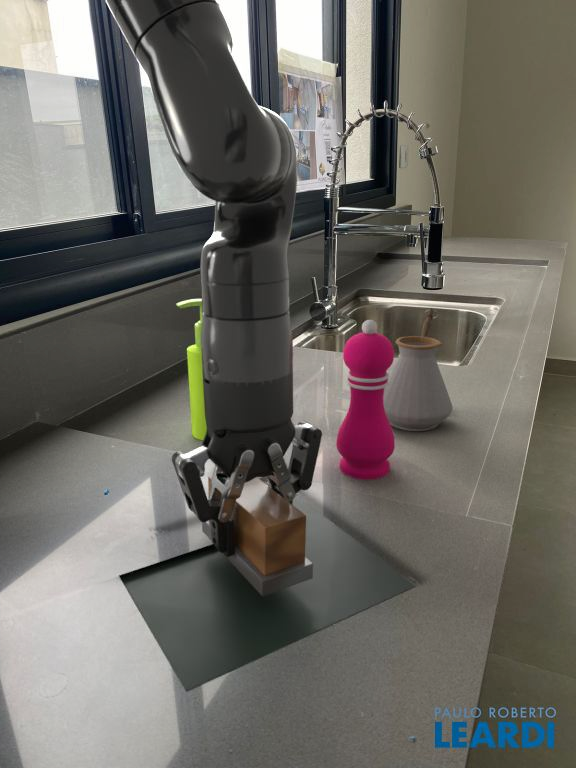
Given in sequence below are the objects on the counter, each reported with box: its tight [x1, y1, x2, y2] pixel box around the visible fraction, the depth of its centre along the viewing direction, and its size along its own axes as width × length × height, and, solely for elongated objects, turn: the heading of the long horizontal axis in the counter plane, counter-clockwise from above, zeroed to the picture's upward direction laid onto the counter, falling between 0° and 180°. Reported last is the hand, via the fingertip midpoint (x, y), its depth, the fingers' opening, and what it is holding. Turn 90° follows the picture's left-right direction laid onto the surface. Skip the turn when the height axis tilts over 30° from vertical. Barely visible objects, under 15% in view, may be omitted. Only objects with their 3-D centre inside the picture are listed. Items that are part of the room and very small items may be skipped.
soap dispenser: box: [175, 298, 207, 441], centre depth 87 cm, size 6×7×20 cm
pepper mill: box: [335, 319, 396, 481], centre depth 73 cm, size 7×7×20 cm
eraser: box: [201, 475, 313, 596], centre depth 55 cm, size 5×12×6 cm, turn 32°
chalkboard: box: [118, 493, 416, 692], centre depth 57 cm, size 22×20×1 cm
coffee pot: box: [383, 307, 453, 432], centre depth 95 cm, size 21×12×15 cm, turn 160°
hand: (253, 541), depth 55 cm, fingers closed on eraser, 5 cm apart
